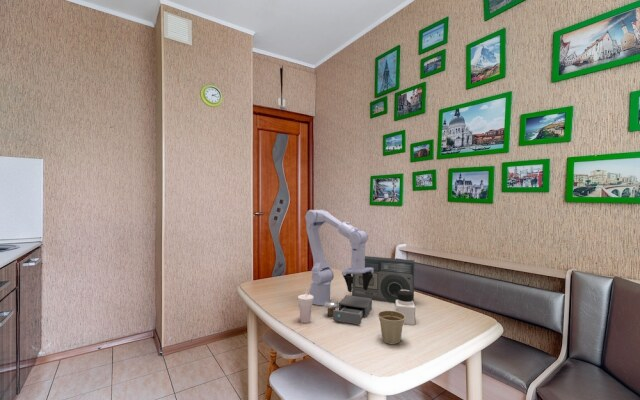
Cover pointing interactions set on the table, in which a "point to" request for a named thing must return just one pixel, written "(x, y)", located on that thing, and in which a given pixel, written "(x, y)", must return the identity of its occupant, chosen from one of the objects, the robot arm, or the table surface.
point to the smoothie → (305, 306)
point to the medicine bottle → (406, 306)
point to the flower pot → (391, 326)
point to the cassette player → (385, 279)
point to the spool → (330, 312)
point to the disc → (331, 304)
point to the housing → (356, 304)
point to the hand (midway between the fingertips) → (357, 290)
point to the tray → (348, 315)
